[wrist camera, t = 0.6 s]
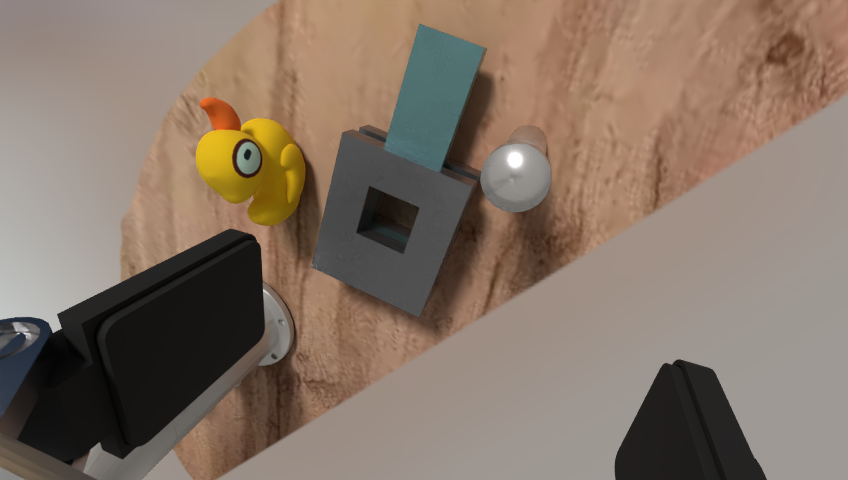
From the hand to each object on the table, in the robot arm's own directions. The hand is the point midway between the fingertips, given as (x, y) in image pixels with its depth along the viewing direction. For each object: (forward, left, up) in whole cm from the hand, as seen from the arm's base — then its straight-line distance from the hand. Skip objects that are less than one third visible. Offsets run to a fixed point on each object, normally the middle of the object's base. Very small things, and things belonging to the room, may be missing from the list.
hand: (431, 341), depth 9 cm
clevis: (-5, +8, -27) cm, 28 cm away
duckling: (-9, +20, -27) cm, 35 cm away
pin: (0, 0, -27) cm, 27 cm away
